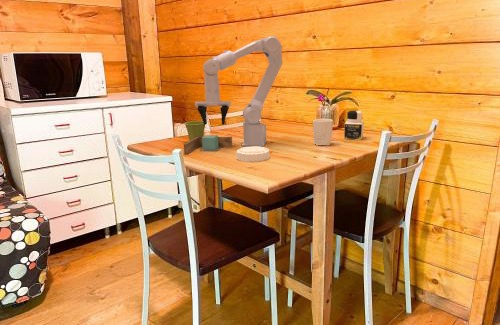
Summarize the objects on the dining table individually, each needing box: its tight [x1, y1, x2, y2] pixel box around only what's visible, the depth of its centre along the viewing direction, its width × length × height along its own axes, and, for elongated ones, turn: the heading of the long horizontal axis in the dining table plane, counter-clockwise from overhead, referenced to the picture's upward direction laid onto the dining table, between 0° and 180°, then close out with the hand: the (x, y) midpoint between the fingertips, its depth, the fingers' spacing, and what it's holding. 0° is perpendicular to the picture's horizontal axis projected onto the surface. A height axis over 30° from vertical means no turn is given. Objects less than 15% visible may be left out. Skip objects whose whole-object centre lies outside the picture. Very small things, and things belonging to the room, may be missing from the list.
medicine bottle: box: [343, 110, 365, 141], centre depth 164 cm, size 7×7×12 cm
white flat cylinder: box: [235, 146, 271, 163], centre depth 137 cm, size 12×12×4 cm
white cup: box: [312, 118, 334, 146], centre depth 154 cm, size 8×8×10 cm
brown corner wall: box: [183, 136, 233, 155], centre depth 151 cm, size 15×15×4 cm
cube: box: [202, 134, 219, 150], centre depth 152 cm, size 5×5×5 cm
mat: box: [199, 147, 223, 152], centre depth 153 cm, size 7×7×1 cm
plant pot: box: [183, 120, 206, 141], centre depth 167 cm, size 9×9×9 cm
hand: (214, 124), depth 155 cm, fingers open, 7 cm apart
